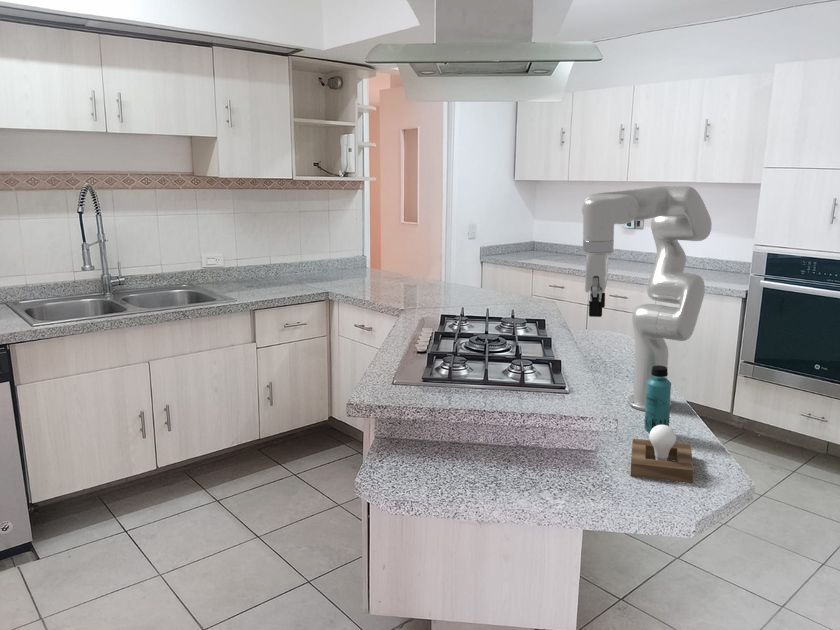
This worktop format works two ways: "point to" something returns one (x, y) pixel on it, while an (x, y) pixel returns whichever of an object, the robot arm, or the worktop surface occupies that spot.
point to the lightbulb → (662, 441)
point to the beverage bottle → (657, 399)
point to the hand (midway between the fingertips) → (597, 311)
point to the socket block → (662, 462)
